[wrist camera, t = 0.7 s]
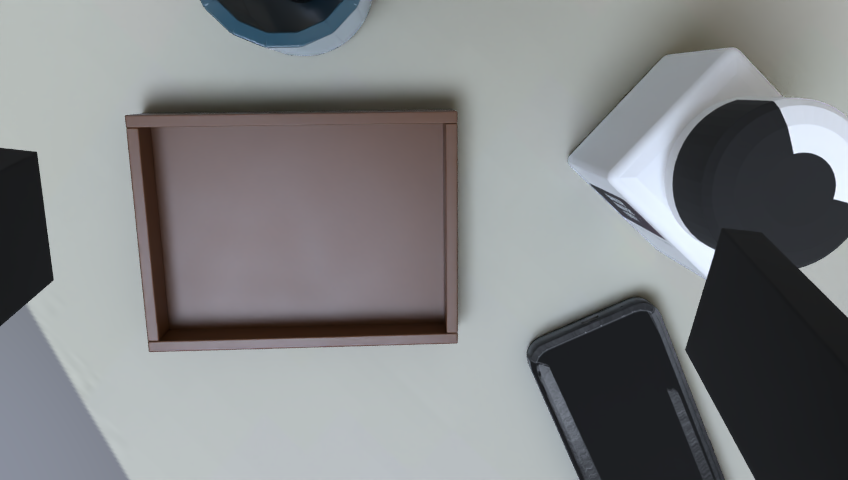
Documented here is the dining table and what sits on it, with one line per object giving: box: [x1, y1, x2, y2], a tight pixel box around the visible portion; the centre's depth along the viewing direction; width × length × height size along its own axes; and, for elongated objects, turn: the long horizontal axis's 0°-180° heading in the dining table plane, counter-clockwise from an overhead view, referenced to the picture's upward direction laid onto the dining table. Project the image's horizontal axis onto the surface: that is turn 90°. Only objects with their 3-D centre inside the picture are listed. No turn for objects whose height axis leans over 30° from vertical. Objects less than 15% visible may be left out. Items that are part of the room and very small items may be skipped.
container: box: [568, 47, 848, 279], centre depth 32 cm, size 8×8×13 cm
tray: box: [125, 110, 458, 352], centre depth 37 cm, size 12×16×2 cm
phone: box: [527, 297, 725, 480], centre depth 41 cm, size 8×1×15 cm
